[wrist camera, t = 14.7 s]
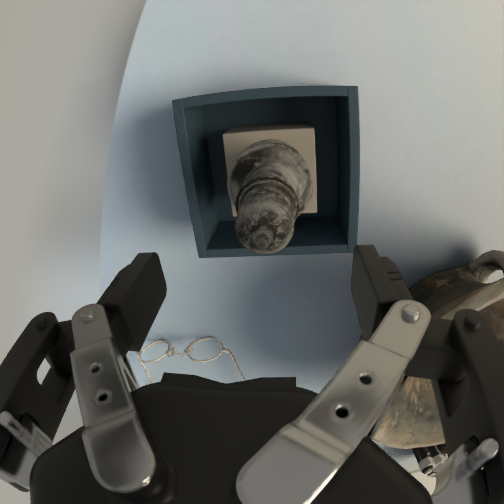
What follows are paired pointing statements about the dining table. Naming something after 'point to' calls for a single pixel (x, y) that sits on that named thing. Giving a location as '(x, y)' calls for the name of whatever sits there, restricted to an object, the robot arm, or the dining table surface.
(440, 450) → the camera
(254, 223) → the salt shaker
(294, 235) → the crate
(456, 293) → the bowl
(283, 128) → the block
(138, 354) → the eyeglasses
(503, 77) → the dining table surface
